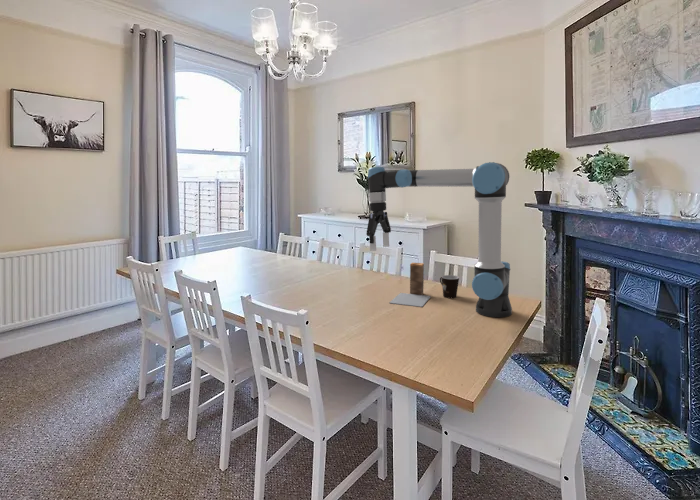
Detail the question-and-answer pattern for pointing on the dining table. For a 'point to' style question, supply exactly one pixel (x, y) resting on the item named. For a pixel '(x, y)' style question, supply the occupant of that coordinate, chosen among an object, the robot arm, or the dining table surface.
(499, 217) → the robot arm
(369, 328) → the dining table surface
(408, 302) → the rubber mat
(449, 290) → the coffee mug
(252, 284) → the dining table surface
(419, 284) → the walnut block
